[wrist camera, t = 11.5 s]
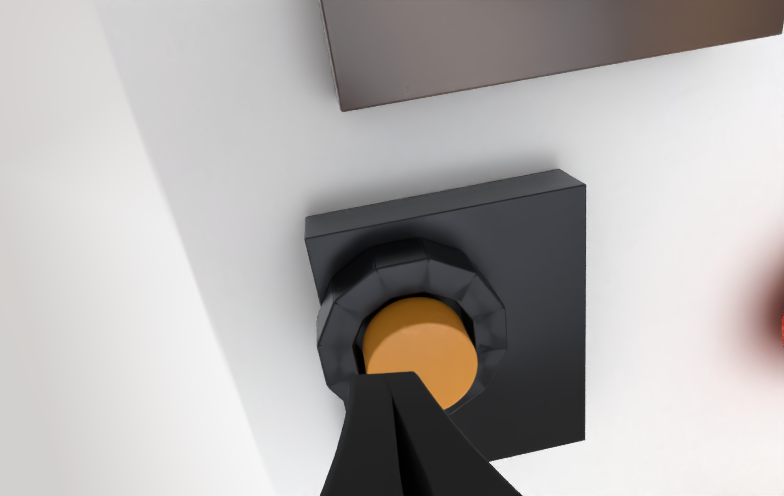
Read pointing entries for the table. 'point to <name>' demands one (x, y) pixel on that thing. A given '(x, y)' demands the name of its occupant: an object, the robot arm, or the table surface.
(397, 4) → the lock plate
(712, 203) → the table surface
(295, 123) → the table surface
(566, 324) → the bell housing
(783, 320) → the apple
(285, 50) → the table surface
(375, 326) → the bell button
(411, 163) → the table surface
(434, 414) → the robot arm
